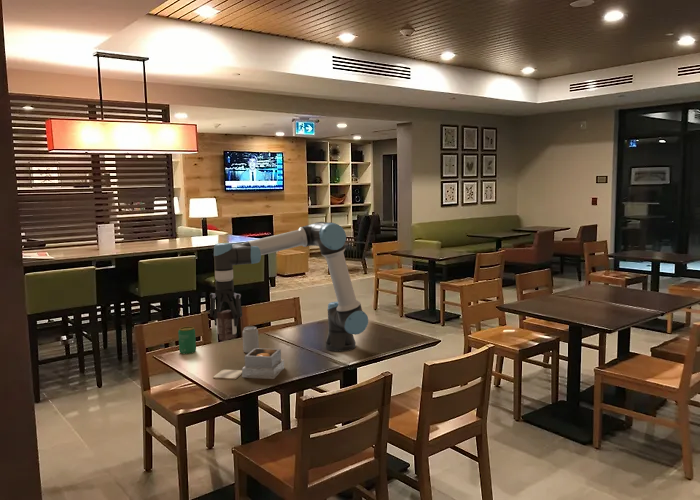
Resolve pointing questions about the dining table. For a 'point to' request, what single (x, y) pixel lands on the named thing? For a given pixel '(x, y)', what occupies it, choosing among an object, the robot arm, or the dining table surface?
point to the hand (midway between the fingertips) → (226, 333)
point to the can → (250, 339)
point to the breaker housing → (263, 364)
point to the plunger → (263, 354)
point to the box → (225, 325)
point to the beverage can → (187, 340)
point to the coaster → (228, 374)
